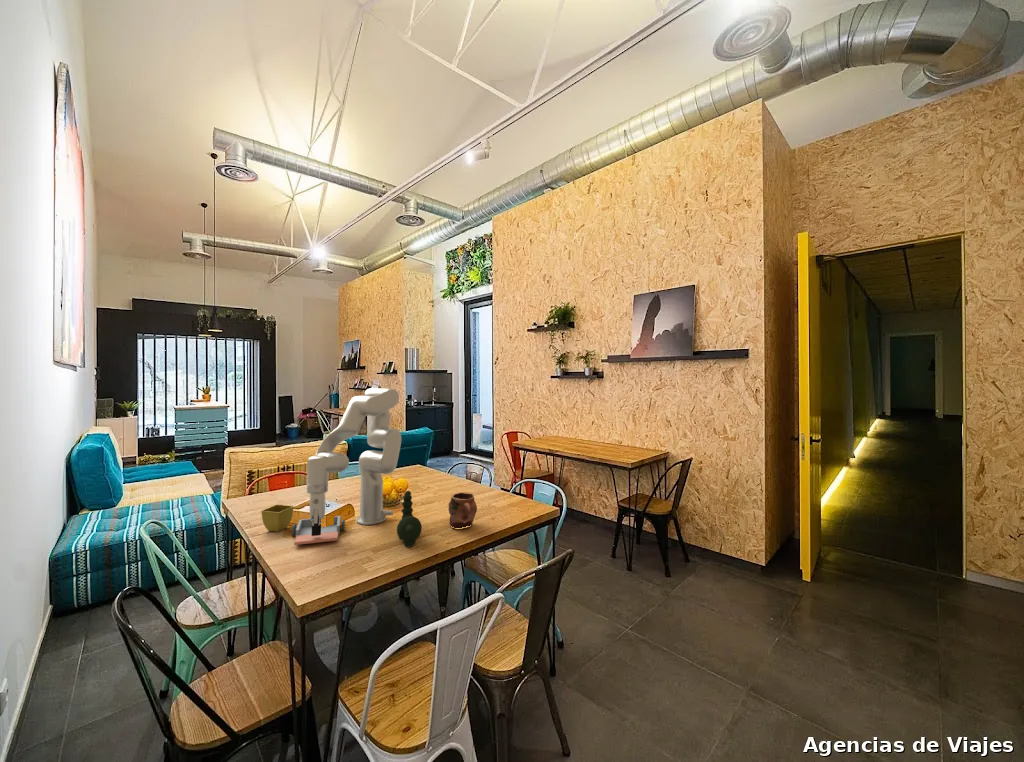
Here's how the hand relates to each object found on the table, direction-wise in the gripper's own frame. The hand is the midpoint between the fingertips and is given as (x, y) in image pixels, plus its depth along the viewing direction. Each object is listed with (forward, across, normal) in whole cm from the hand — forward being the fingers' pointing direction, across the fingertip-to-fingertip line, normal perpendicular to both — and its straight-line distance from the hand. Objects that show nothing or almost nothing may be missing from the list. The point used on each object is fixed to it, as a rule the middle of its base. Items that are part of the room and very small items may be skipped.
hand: (316, 534), depth 164 cm
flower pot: (+4, +21, +16) cm, 27 cm away
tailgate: (+2, +5, 0) cm, 5 cm away
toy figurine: (+3, -7, -34) cm, 35 cm away
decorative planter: (+3, 0, -58) cm, 58 cm away
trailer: (+3, +14, 0) cm, 14 cm away
